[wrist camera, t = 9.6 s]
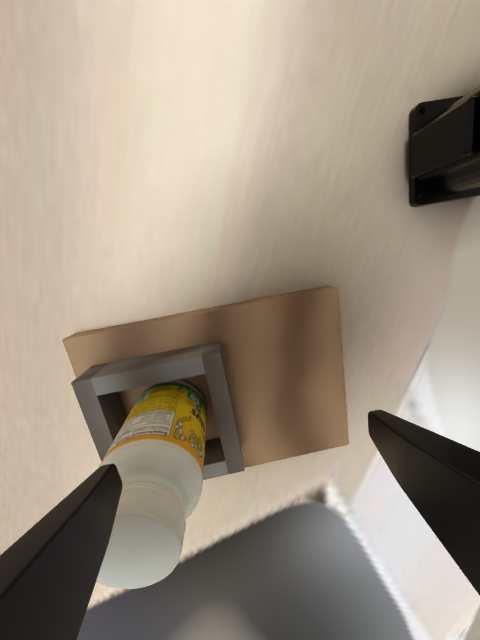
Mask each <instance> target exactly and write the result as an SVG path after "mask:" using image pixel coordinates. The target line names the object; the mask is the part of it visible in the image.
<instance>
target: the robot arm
mask: <svg viewBox="0 0 480 640" xmlns="http://www.w3.org/2000/svg"><path fill="white" fill-rule="evenodd" d="M418 111H420V113H421V115H420V114H419V112H418ZM418 196H419V198H420V200H419V201H418ZM475 196H480V86H479V87H477V88H476V89H474V90H473V91H471V92H470V93H468V94H467V95H465V96H461V97H454V98H448V99H441V100H434V101H428V102H422V103H419V104H418V105H417V106H416V107H414V108H413V109H412V111H411V115H410V202H411V205H412V206H414V207H417V206H423V205H429V204H435V203H440V202H446V201H452V200H457V199H463V198H469V197H475ZM368 428H369V434H370V437H371V439H372V441H373V442H374V444H375V446H376V447H377V449H378V451H379V452H380V454H381V456H382V457H383V459H384V461H385V462H386V464H387V466H388V467H389V469H390V471H391V472H392V474H393V476H394V477H395V479H396V480H397V482H398V483H399V485H400V486H401V488H402V489H403V491H404V492H405V493H406V495H407V496H408V497H409V499H410V500H411V502H412V503H413V504H414V506H415V507H416V509H417V510H418V511H419V513H420V514H421V515H422V517H423V518H424V520H425V521H426V522H427V524H428V525H429V526H430V528H431V529H432V531H433V532H434V533H435V535H436V536H437V537H438V539H439V540H440V542H441V543H442V544H443V546H444V547H445V548H446V550H447V551H448V553H449V554H450V555H451V557H452V558H453V559H454V561H455V562H456V564H457V565H458V566H459V568H460V569H461V570H462V572H463V573H464V575H465V576H466V577H467V579H468V580H469V581H470V583H471V584H472V586H473V587H474V588H475V590H476V591H477V592H478V594H479V595H480V452H478V451H476V450H474V449H471V448H469V447H467V446H464V445H462V444H460V443H457V442H455V441H453V440H450V439H448V438H446V437H443V436H441V435H439V434H436V433H434V432H432V431H429V430H427V429H425V428H422V427H420V426H418V425H415V424H413V423H411V422H408V421H406V420H404V419H401V418H399V417H397V416H394V415H392V414H390V413H387V412H385V411H383V410H375V411H370V412H369V413H368ZM121 492H122V480H121V477H120V475H119V472H118V469H117V467H116V465H115V464H107V465H103V466H101V467H99V468H98V469H97V470H96V471H95V472H94V473H93V474H91V475H90V476H89V477H88V478H87V479H86V480H85V481H84V482H82V483H81V484H80V485H79V486H78V487H77V488H76V489H75V490H73V491H72V492H71V493H70V494H69V495H68V496H67V497H66V498H64V499H63V500H62V501H61V502H60V503H59V504H58V505H57V506H55V507H54V508H53V509H52V510H51V511H50V512H49V513H48V514H46V515H45V516H44V517H43V518H42V519H41V520H40V521H39V522H37V523H36V524H35V525H34V526H33V527H32V528H31V529H30V530H28V531H27V532H26V533H25V534H24V535H23V536H22V537H21V538H19V539H18V540H17V541H16V542H15V543H14V544H13V545H12V546H10V547H9V548H8V549H7V550H6V551H5V552H4V553H3V554H1V555H0V640H77V637H78V634H79V631H80V628H81V624H82V622H83V618H84V616H85V613H86V610H87V607H88V604H89V601H90V598H91V595H92V592H93V589H94V586H95V583H96V580H97V577H98V574H99V571H100V568H101V565H102V562H103V559H104V556H105V553H106V550H107V547H108V544H109V540H110V536H111V533H112V529H113V524H114V520H115V516H116V512H117V508H118V504H119V500H120V496H121Z"/></svg>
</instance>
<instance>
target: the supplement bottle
mask: <svg viewBox="0 0 480 640" xmlns="http://www.w3.org/2000/svg"><path fill="white" fill-rule="evenodd" d="M206 420H207V406H206V402H205V399H204V397H203V396H202V394H201V393H200V392H199V391H198V390H197V389H196V388H195V387H193V386H192V385H191V384H189V383H187V382H185V381H182V380H172V381H167V382H162V383H157V384H153V385H150V386H149V387H148V388H146V389H145V390H144V391H143V392H142V394H141V395H140V396H139V398H138V400H137V401H136V403H135V405H134V406H133V408H132V410H131V411H130V413H129V415H128V417H127V419H126V420H125V422H124V424H123V426H122V427H121V429H120V431H119V432H118V434H117V436H116V438H115V439H114V441H113V443H112V445H111V446H110V448H109V450H108V452H107V453H106V455H105V457H104V459H103V461H102V462H101V464H100V466H99V467H101V466H103V465H107V464H115V465H116V467H117V469H118V472H119V475H120V477H121V480H122V492H121V496H120V500H119V504H118V508H117V512H116V516H115V520H114V524H113V529H112V533H111V536H110V540H109V544H108V547H107V550H106V553H105V556H104V559H103V562H102V565H101V568H100V571H99V574H98V577H97V580H96V582H98V583H100V584H103V585H105V586H108V587H114V588H122V589H135V588H141V587H145V586H149V585H152V584H153V583H156V582H158V581H160V580H162V579H163V578H165V577H166V576H167V575H169V574H170V573H171V572H172V571H173V569H174V568H175V567H176V565H177V563H178V561H179V559H180V555H181V551H182V545H183V539H184V532H185V527H186V519H187V518H188V517H189V516H190V514H191V513H192V512H193V510H194V509H195V507H196V505H197V503H198V501H199V498H200V495H201V491H202V484H203V470H204V455H205V436H206Z"/></svg>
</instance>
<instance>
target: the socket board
mask: <svg viewBox="0 0 480 640" xmlns="http://www.w3.org/2000/svg"><path fill="white" fill-rule="evenodd" d="M62 341H63V343H64V346H65V349H66V351H67V354H68V357H69V359H70V362H71V365H72V367H73V370H74V372H75V375H76V379H75V380H74V381H73V382H71V384H72V386H73V389H74V392H75V394H76V397H77V399H78V402H79V405H80V407H81V410H82V412H83V415H84V417H85V420H86V423H87V425H88V428H89V430H90V433H91V436H92V438H93V441H94V443H95V446H96V449H97V451H98V454H99V456H100V459H101V461H103V459H104V457H105V455H106V453H107V452H108V450H109V448H110V446H111V445H112V443H113V441H114V439H115V438H116V436H117V434H118V432H119V431H120V429H121V427H122V426H123V424H124V422H125V420H126V419H127V417H128V415H129V413H130V411H131V410H132V408H133V406H134V405H135V403H136V401H137V400H138V398H139V396H140V395H141V394H142V392H143V391H144V390H145V389H146V388H148V387H149V386H150V385H153V384H157V383H162V382H167V381H172V380H182V381H185V382H187V383H189V384H191V385H192V386H193V387H195V388H196V389H197V390H198V391H199V392H200V393H201V394H202V396H203V397H204V399H205V402H206V406H207V420H206V436H205V455H204V470H203V480H205V479H209V478H214V477H218V476H223V475H227V474H232V473H236V472H240V471H245V470H244V468H246V467H250V466H255V465H259V464H263V463H268V462H272V461H277V460H281V459H286V458H290V457H295V456H299V455H304V454H308V453H312V452H317V451H321V450H326V449H330V448H335V447H339V446H344V445H348V444H349V438H348V424H347V410H346V397H345V383H344V369H343V355H342V342H341V328H340V314H339V300H338V288H337V287H332V286H324V287H319V288H314V289H308V290H303V291H298V292H293V293H287V294H282V295H277V296H271V297H266V298H261V299H255V300H250V301H245V302H240V303H234V304H229V305H224V306H218V307H213V308H208V309H203V310H197V311H192V312H187V313H181V314H176V315H171V316H165V317H160V318H155V319H150V320H144V321H139V322H134V323H128V324H123V325H118V326H113V327H107V328H102V329H97V330H91V331H86V332H81V333H75V334H73V335H71V336H69V337H67V338H65V339H63V340H62Z"/></svg>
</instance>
